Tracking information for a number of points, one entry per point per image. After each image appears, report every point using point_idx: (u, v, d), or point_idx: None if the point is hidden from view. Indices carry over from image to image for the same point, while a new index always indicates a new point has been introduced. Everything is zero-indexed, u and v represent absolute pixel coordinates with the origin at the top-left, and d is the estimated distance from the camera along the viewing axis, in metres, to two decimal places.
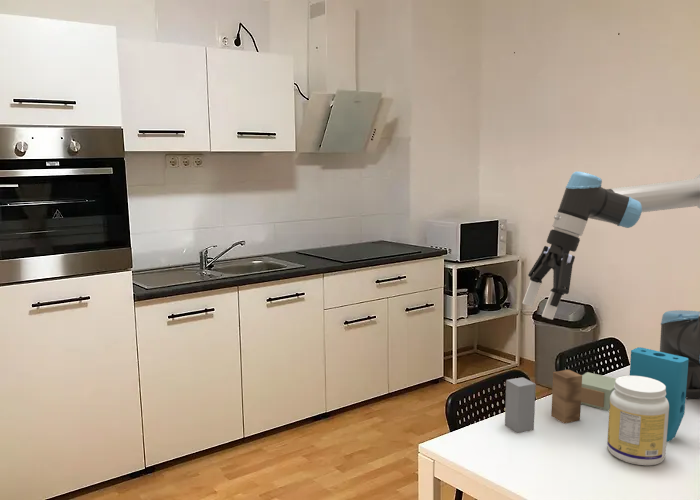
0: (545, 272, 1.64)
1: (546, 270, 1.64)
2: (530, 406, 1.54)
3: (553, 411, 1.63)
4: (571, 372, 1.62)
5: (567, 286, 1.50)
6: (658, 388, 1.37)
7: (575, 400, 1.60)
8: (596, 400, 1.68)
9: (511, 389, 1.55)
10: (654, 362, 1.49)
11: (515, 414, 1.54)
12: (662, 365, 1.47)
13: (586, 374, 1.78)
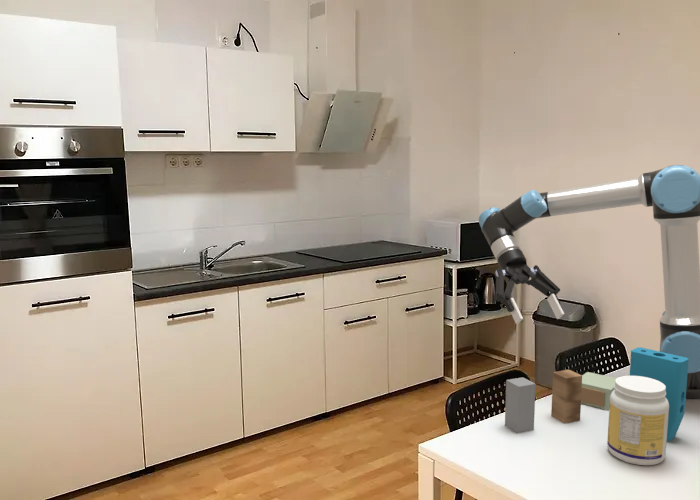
0: (540, 285, 1.75)
1: (537, 284, 1.76)
2: (530, 406, 1.54)
3: (553, 411, 1.63)
4: (571, 372, 1.62)
5: (498, 292, 1.70)
6: (658, 388, 1.37)
7: (575, 400, 1.60)
8: (596, 400, 1.69)
9: (511, 389, 1.55)
10: (653, 362, 1.49)
11: (515, 414, 1.54)
12: (662, 365, 1.47)
13: (586, 374, 1.78)
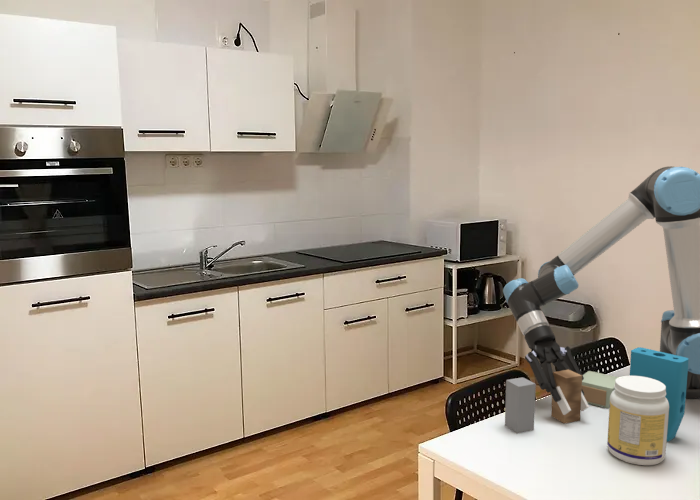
0: (564, 369, 1.65)
1: (562, 367, 1.65)
2: (530, 406, 1.54)
3: (553, 411, 1.63)
4: (571, 372, 1.62)
5: (542, 381, 1.61)
6: (658, 388, 1.37)
7: (575, 400, 1.60)
8: (598, 398, 1.69)
9: (511, 389, 1.55)
10: (654, 362, 1.49)
11: (515, 414, 1.54)
12: (662, 365, 1.47)
13: (588, 373, 1.79)
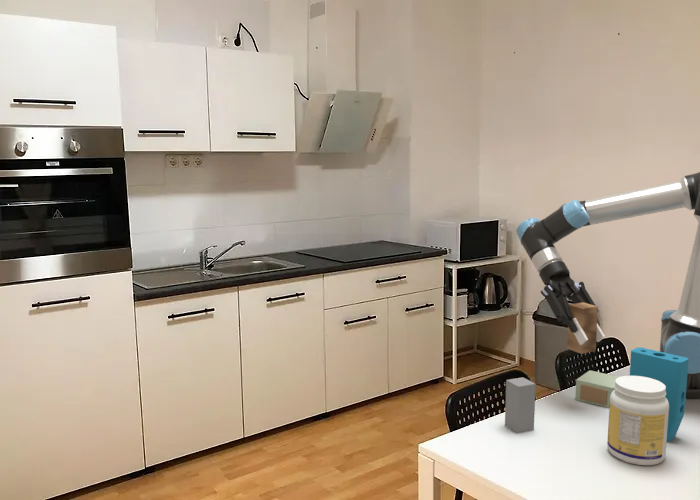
0: (580, 302, 1.68)
1: (577, 301, 1.69)
2: (530, 406, 1.54)
3: (569, 343, 1.66)
4: (586, 304, 1.65)
5: (559, 312, 1.64)
6: (658, 388, 1.37)
7: (591, 330, 1.63)
8: (599, 398, 1.70)
9: (511, 389, 1.55)
10: (653, 362, 1.49)
11: (515, 414, 1.54)
12: (662, 365, 1.47)
13: (589, 372, 1.79)
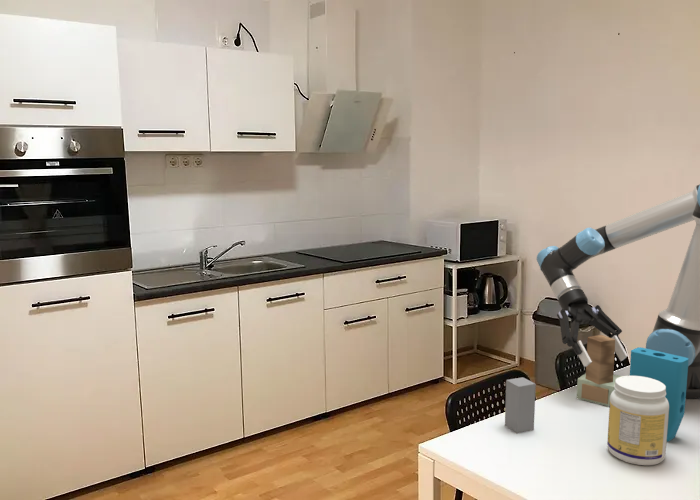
0: (602, 326, 1.76)
1: (599, 325, 1.77)
2: (530, 406, 1.54)
3: (587, 374, 1.74)
4: (604, 337, 1.73)
5: (565, 334, 1.71)
6: (658, 388, 1.37)
7: (609, 362, 1.71)
8: (600, 397, 1.71)
9: (511, 389, 1.55)
10: (653, 362, 1.49)
11: (515, 414, 1.54)
12: (662, 365, 1.47)
13: None
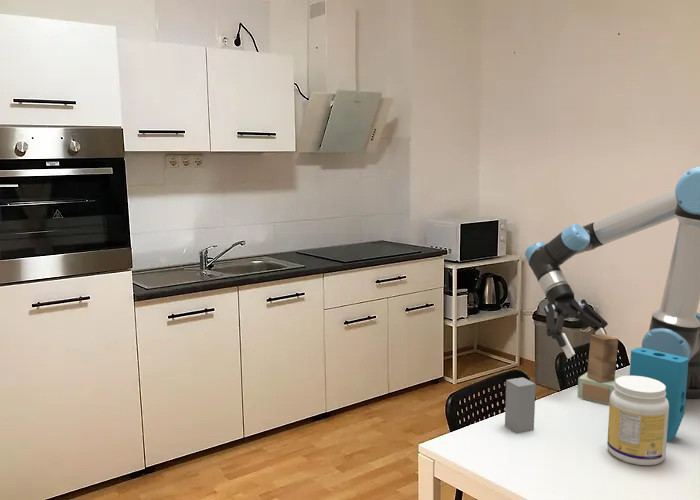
0: (588, 319, 1.81)
1: (585, 318, 1.81)
2: (530, 406, 1.54)
3: (589, 372, 1.75)
4: (608, 335, 1.74)
5: (550, 327, 1.75)
6: (658, 388, 1.37)
7: (611, 361, 1.72)
8: (601, 396, 1.71)
9: (511, 389, 1.55)
10: (653, 362, 1.49)
11: (515, 414, 1.54)
12: (662, 365, 1.47)
13: None
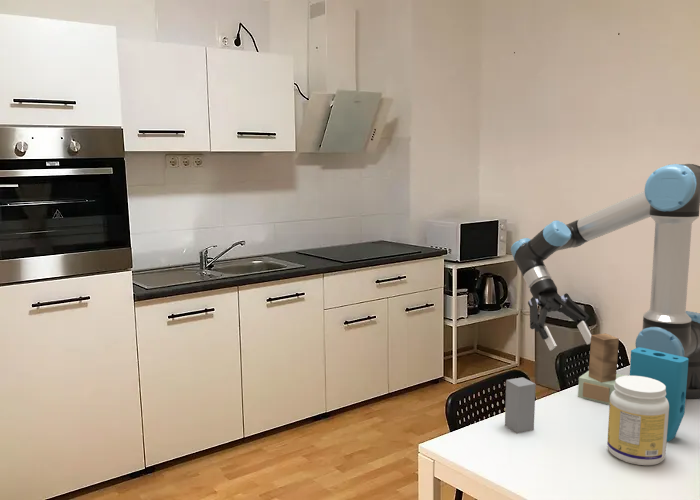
0: (570, 313, 1.88)
1: (567, 312, 1.89)
2: (530, 406, 1.54)
3: (590, 372, 1.75)
4: (608, 335, 1.74)
5: (533, 320, 1.83)
6: (658, 388, 1.37)
7: (612, 361, 1.72)
8: (601, 395, 1.72)
9: (511, 389, 1.55)
10: (653, 362, 1.49)
11: (515, 414, 1.54)
12: (662, 365, 1.47)
13: None
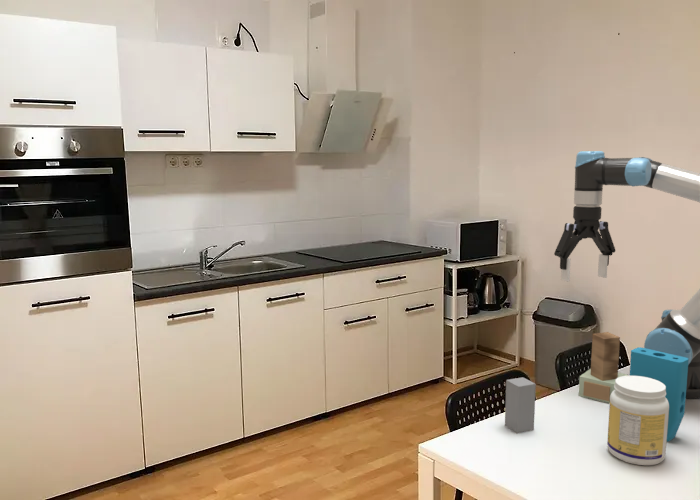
0: (600, 244, 1.82)
1: (597, 242, 1.82)
2: (530, 406, 1.54)
3: (592, 370, 1.77)
4: (610, 334, 1.75)
5: (560, 250, 1.77)
6: (658, 388, 1.37)
7: (613, 359, 1.73)
8: (602, 394, 1.72)
9: (511, 389, 1.55)
10: (653, 362, 1.49)
11: (515, 414, 1.54)
12: (662, 365, 1.47)
13: None
